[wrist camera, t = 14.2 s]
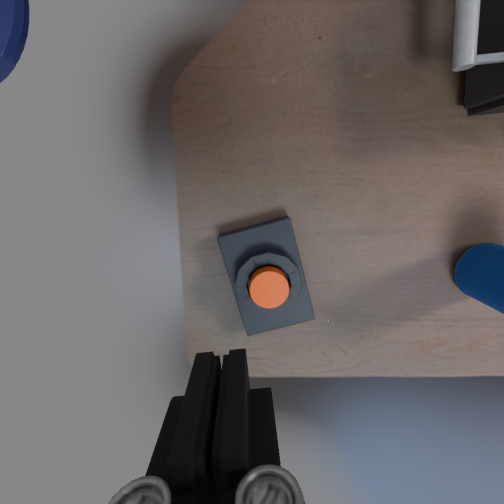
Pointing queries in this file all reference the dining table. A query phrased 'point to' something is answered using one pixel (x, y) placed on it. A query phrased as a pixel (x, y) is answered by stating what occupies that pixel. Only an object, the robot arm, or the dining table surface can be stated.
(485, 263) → the beverage can
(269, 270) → the button
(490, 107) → the black cabinet
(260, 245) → the control block
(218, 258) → the dining table surface
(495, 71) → the drawer
